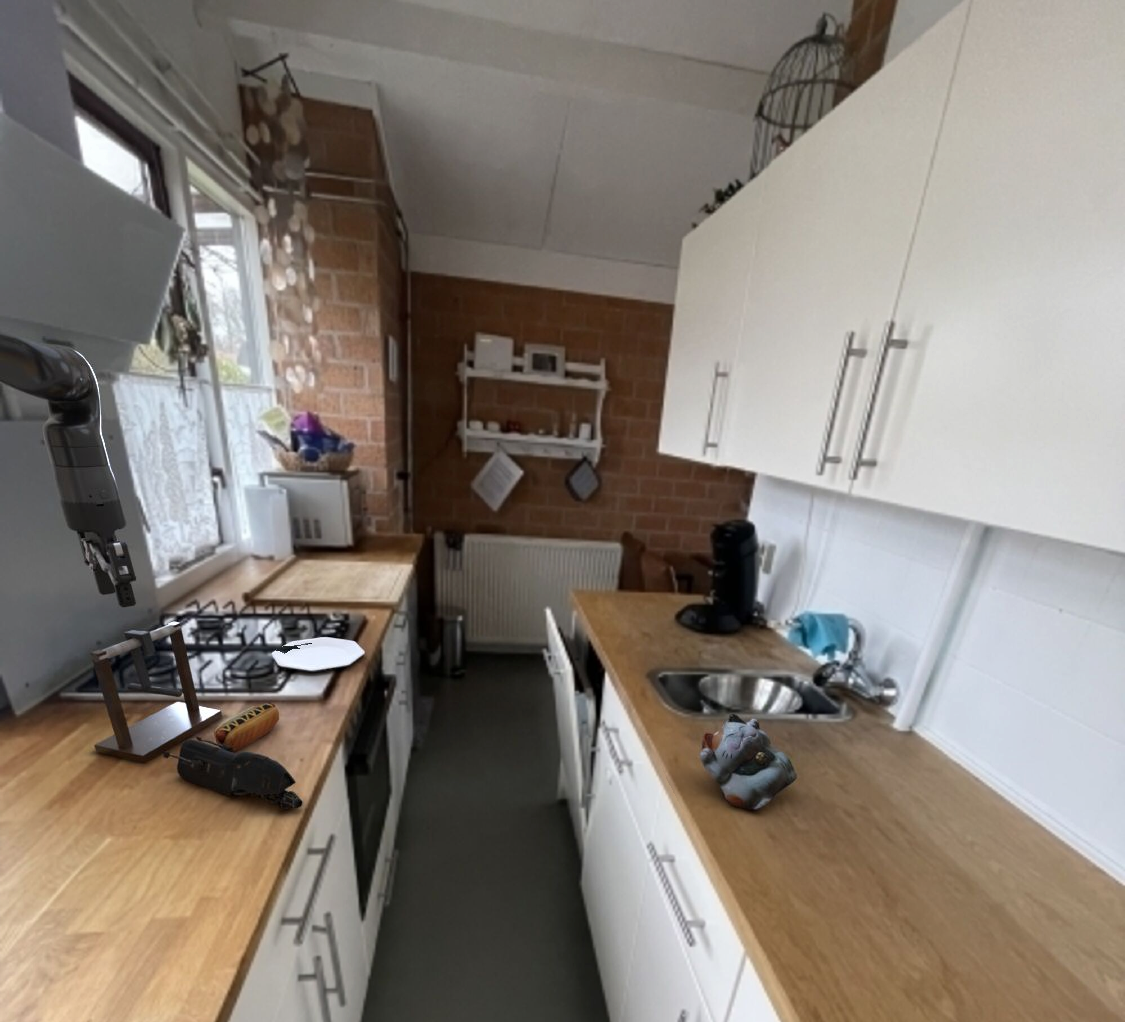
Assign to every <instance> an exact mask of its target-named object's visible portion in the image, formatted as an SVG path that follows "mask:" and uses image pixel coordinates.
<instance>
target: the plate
mask: <svg viewBox="0 0 1125 1022" xmlns="http://www.w3.org/2000/svg"><path fill="white" fill-rule="evenodd" d="M305 643H312V644H308V645H301V644H305ZM294 645H301V646H297V647H298V648H300V649H292V650H290V651H288V652H287V653H285V654H284V653H282V652H280V651H276V650H274V651H272V653H271V656H272V658H273V660H274V662H275V663H276V665H277V666H278V667H280V668H281V669H288V670H289V669H290V670H296V671H303V672H310V673H316V672H322V670H323V671H328V670H327V669H329V670H333V669H332V668H335V669H340V668H347V667H350V666H352V664H354V663H355V662H356V661H358V660H359V659H360V658H362V657H363V656H364V655H366V652H365V650H364V649H363V648H362V647H361V646H360V645H359V644H358V643H357V642H356V641H354V640H350V639H349V640H348V639H342V638H335V637H328V636H323V637H314V638H307V639H299V640H293V641H290V642H288V643H286V644H284V645H283V646H294Z"/></svg>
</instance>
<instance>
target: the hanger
mask: <svg viewBox="0 0 1125 1022" xmlns="http://www.w3.org/2000/svg"><path fill="white" fill-rule="evenodd" d="M150 632H151V631H144V630H135V629H131V630H130V629H129V630H127V631H125V632H124V633H123V634H124V637H125V641H127V640H130V639H132V638H138V639H140V641H141V644H142V646H140V647H137V648H134V649H132V650H129V653H130V655H131V659H132V662H133V664H134V667H135V671H136V674H137V677H138V680H139V684H138V683H128V684H127V686H126V688H127V690H129V691H132V692H141V693H147V694H155V695H162V696H168V697H176V698H180V697H182V696H183V691H182V690H180V689H173V688H167V687H159V686H152V683H151V679H150V675H149V673H148V668H147V667H146V661H145V660H144V656H150V655H153V654H154V653H156V648H155V645H154V641H152V638H151V635H150ZM141 647H142V648H141ZM142 651H143V653H144V655H143V653H142Z"/></svg>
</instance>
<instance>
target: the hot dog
mask: <svg viewBox="0 0 1125 1022" xmlns="http://www.w3.org/2000/svg"><path fill="white" fill-rule="evenodd" d="M279 720H280V712H279V709H278V708H277V706H276V705H275V703H273V702H271V701H270V702H265V703H264V704H262V703H261V704H256V705H253V706H250V707H249V708H247V709H244V710H243V711H240V712H239V713H237V714H236V715H233V716H232V717H230V718H228V719H227V720H225V721H224V722H222V723H220V724H219V725H218V726H217V727H216V728H215V729H214V731H213V734H214V739H215V743H217V744H222V745H227V746H230V747H231V748H232V749H233V751H238V750H241V749H243V748H245V747H246V746H249V745H250V744H253V743H255V741H257V740H259V739H260V738H261V737H263V736H265V735H266V734H267V733H269V732H270V731H271V730H273V729H274V728H275V726H276V725H277V723H278V722H279Z"/></svg>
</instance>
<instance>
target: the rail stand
mask: <svg viewBox="0 0 1125 1022" xmlns="http://www.w3.org/2000/svg"><path fill="white" fill-rule="evenodd" d="M149 632H150V635H151V638H152V642H155V641H158V640H160V639H163V638H164V637H167V636H169V638H170V639H169V640H170V643H171V648H172V652H173V656H174V660H175V664H176V669H177V673H178V678H179V681H180V686H181V687H180V688H181V692H182V696H183V699H184V702H181V701H176V702H174V703H172V704H171V705H168V706H167V707H164V708H162V709H160V710H159V711H157V712H155V713H153V714H151V715H149V716H147V717H145V718H143V719H141V720H139V721H138V722H135V723H133V724H132V725H128V723H127V719H126V716H125V712H124V708H123V706H122V701H121V698H120V696H119V691H118V687H117V684H116V681H115V677H114V673H113V670H112V666H111V664H110V660H109V659H111V658H114V657H117V656H119V655H122V654H124V653H126V652H130V650H132V649H134V648H137V647H140V648H141V647H142V644H141V641H140V639H138V638H132V639H130V640H127V641H126V640H125V641H122V642H120V643H116V644H113V645H110V646H109V647H105V648H103V649H97V650H94V651H91V652H90V653H89V654H90V658H91V661H92V663H93V667H94V670H95V674H96V678H97V681H98V684H99V687H100V689H101V694H102V698H103V701H104V704H105V707H106V711H107V713H108V717H109V720H110V724H111V728H112V731H113V735H111V736H109V737H106V738H105V739H103V740H101V741H99V742H97V743H95V744H94V745H93V746H94V749H95V752H96V753H99V754H102V755H107V756H111V757H116V758H120V759H124V760H129V761H133V762H138V763H141V764H142V763H143V764H146V763H148V762H149V761H151V760H153V759H154V758H156V757H158V756H160V755H161V754H164V752H165V751H166V752H167V751H169V750H170V749H172V748H173V747H175V746H176V745H178V744H181V743H182V742H183V741H186V740H188V739H189V738H191V737H192V736H193V735H195V734H197V733H199V732H200V731H202V730H203V729H205V728H207V727H209V726H210V725H212V724H214V723H216V722H217V721H218V720H221V719H222V718H223V713H222V710H221V709H215V708H211V707H205V706H200V705H199V701H198V695H197V691H196V687H195V683H194V678H193V674H192V669H191V665H190V661H189V656H188V652H187V651H188V650H187V647H186V643H185V637H184V634H183V630H182V625H181V622H177V621H172V622H169V623H167V624H166V625H164V626H161V627H159V628H156V629H153V630H151V631H149Z"/></svg>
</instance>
